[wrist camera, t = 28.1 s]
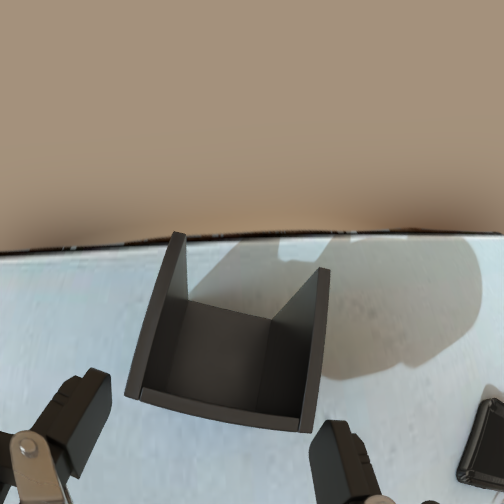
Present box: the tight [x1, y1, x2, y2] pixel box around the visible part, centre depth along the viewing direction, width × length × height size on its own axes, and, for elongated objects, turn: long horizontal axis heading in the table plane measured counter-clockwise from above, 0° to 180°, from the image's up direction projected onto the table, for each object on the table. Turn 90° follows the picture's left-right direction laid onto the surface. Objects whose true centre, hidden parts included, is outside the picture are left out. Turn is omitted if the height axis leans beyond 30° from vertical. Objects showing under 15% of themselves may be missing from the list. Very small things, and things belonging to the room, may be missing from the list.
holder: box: [124, 231, 330, 433], centre depth 13 cm, size 6×6×8 cm
